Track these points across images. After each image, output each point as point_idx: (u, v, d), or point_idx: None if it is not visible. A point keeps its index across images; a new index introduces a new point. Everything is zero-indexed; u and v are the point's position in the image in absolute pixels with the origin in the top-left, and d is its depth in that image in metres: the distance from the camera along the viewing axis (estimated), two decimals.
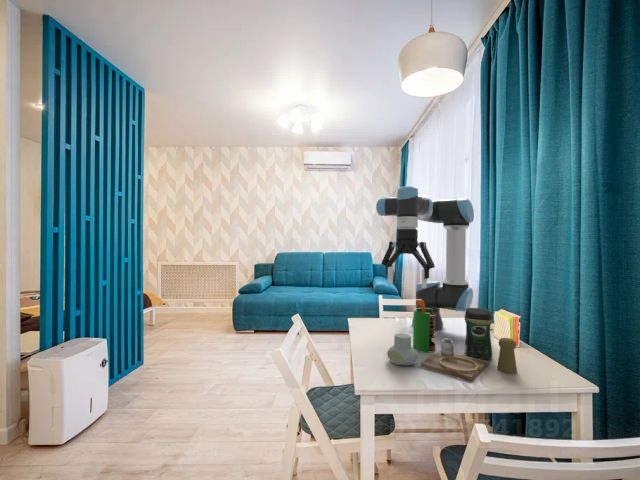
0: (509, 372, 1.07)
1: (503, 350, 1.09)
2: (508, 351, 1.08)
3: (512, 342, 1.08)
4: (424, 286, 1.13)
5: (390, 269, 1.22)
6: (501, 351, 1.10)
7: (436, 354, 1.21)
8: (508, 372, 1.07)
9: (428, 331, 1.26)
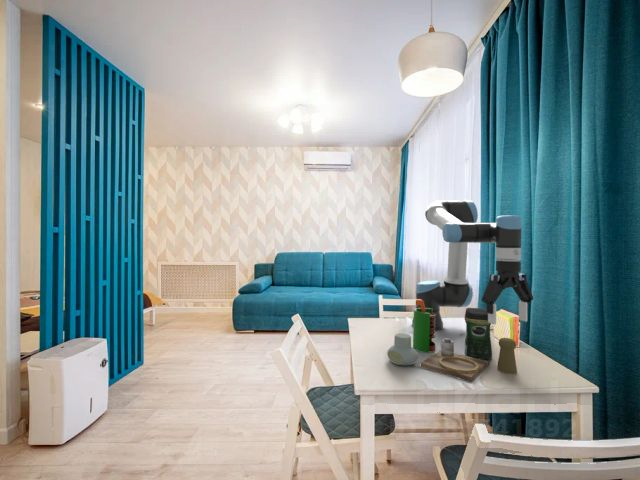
0: (509, 372, 1.07)
1: (503, 350, 1.09)
2: (508, 351, 1.08)
3: (512, 342, 1.08)
4: None
5: None
6: (501, 351, 1.10)
7: (436, 354, 1.21)
8: (508, 372, 1.07)
9: (428, 331, 1.26)
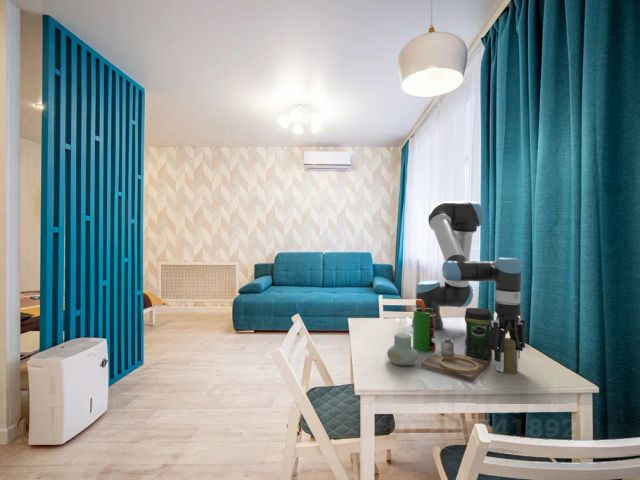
0: (509, 372, 1.07)
1: (503, 350, 1.09)
2: (508, 351, 1.08)
3: (512, 342, 1.08)
4: None
5: None
6: None
7: (436, 354, 1.21)
8: (508, 372, 1.07)
9: (428, 331, 1.26)
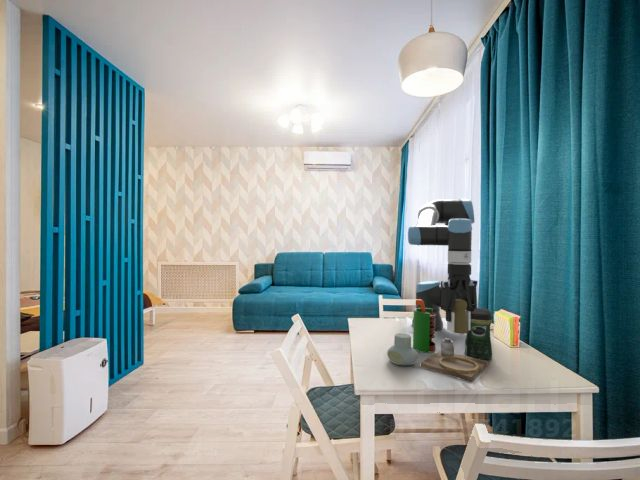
0: (459, 332, 1.08)
1: (454, 311, 1.09)
2: (459, 311, 1.08)
3: (463, 302, 1.08)
4: None
5: None
6: None
7: (436, 354, 1.21)
8: (459, 332, 1.08)
9: (428, 331, 1.26)
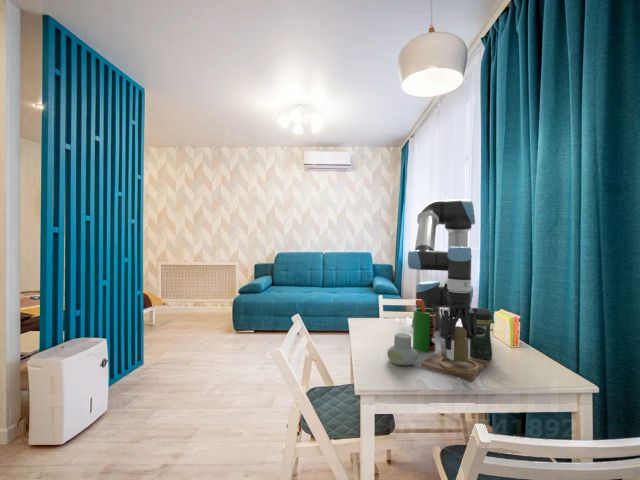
0: (459, 360, 1.08)
1: (454, 339, 1.09)
2: (459, 339, 1.08)
3: (463, 330, 1.08)
4: None
5: None
6: (452, 339, 1.10)
7: (436, 354, 1.21)
8: (458, 360, 1.08)
9: (428, 331, 1.26)
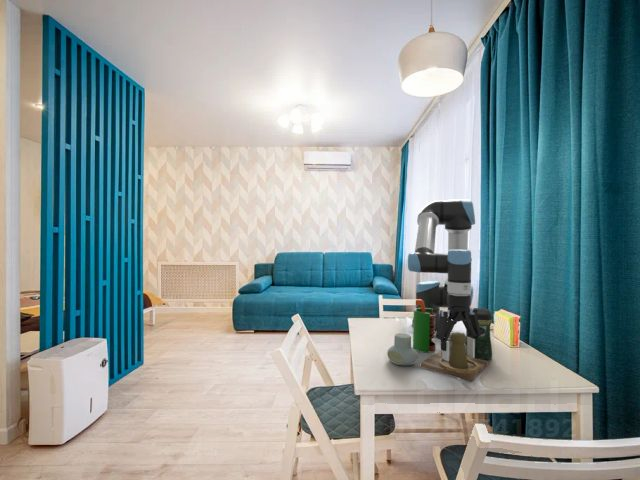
0: (459, 366, 1.08)
1: (454, 345, 1.09)
2: (458, 346, 1.08)
3: (462, 337, 1.08)
4: None
5: None
6: (452, 346, 1.10)
7: (436, 354, 1.21)
8: (458, 367, 1.08)
9: (428, 331, 1.26)
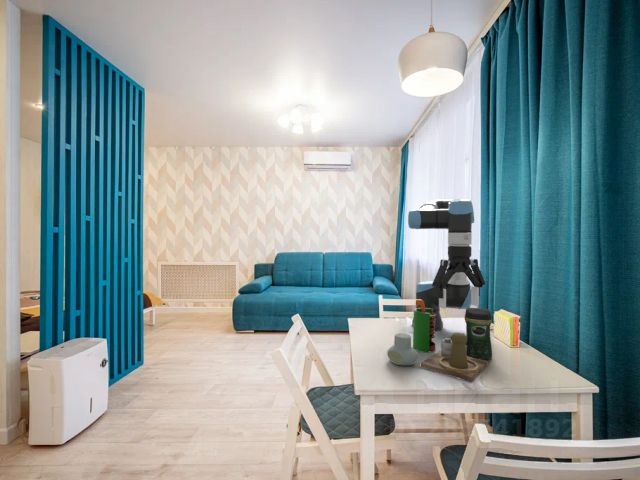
0: (459, 366, 1.08)
1: (454, 345, 1.10)
2: (459, 346, 1.09)
3: (463, 337, 1.08)
4: None
5: None
6: (452, 346, 1.10)
7: (436, 354, 1.21)
8: (458, 366, 1.08)
9: (428, 331, 1.26)
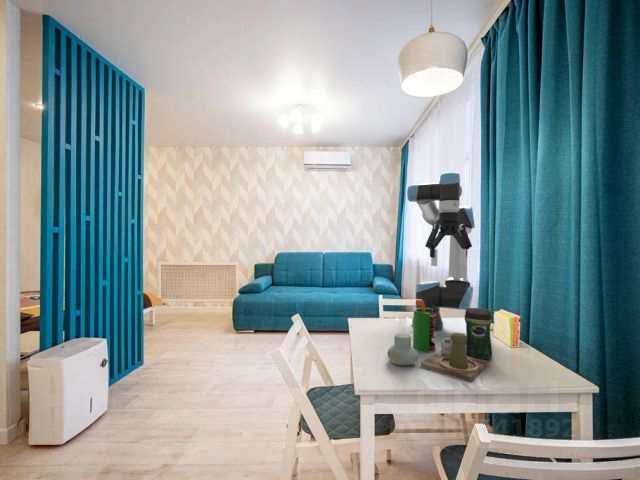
0: (459, 366, 1.08)
1: (454, 345, 1.10)
2: (459, 346, 1.09)
3: (462, 337, 1.08)
4: None
5: None
6: (452, 346, 1.10)
7: (436, 354, 1.21)
8: (458, 367, 1.08)
9: (428, 331, 1.26)
